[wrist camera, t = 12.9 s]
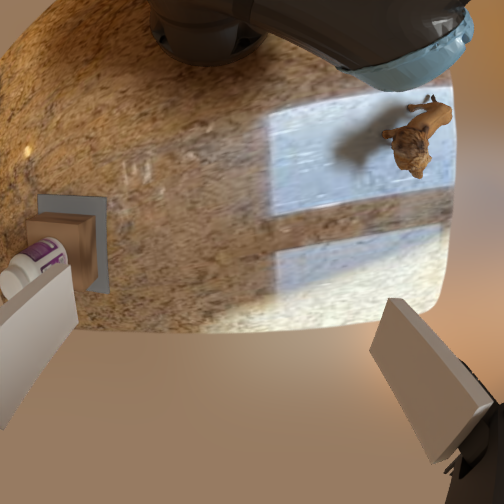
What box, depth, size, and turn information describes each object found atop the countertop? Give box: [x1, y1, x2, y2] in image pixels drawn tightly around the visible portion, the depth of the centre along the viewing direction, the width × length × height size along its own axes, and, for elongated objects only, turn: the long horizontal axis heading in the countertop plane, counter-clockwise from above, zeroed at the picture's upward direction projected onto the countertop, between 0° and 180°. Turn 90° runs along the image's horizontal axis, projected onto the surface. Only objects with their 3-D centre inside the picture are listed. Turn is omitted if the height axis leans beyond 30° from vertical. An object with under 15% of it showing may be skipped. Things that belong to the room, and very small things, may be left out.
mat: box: [38, 194, 110, 294], centre depth 37 cm, size 14×12×1 cm
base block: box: [26, 212, 98, 293], centre depth 34 cm, size 9×9×5 cm
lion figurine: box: [382, 95, 452, 179], centre depth 30 cm, size 15×5×9 cm, turn 142°
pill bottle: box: [0, 237, 68, 300], centre depth 27 cm, size 5×5×10 cm
